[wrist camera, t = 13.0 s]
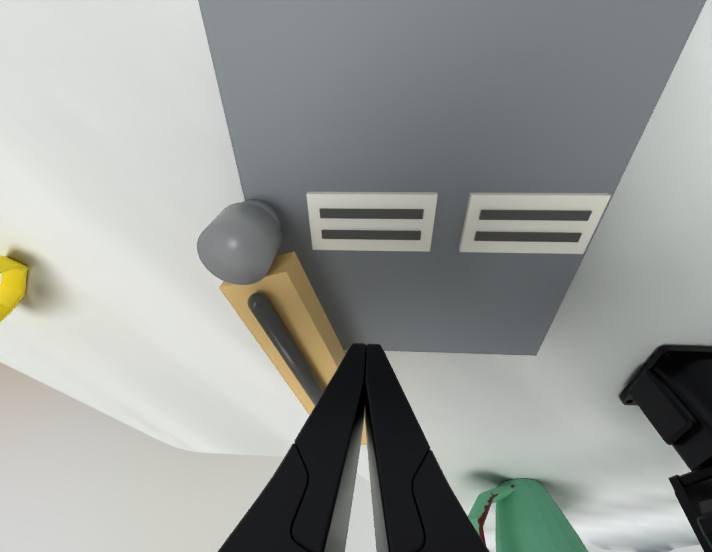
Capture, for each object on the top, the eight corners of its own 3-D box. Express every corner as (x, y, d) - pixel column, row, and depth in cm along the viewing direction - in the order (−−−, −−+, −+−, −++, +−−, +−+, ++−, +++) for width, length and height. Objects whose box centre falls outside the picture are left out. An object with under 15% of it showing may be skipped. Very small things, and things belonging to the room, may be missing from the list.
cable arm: (378, 417, 25) (378, 457, 22) (335, 422, 26) (330, 461, 23) (267, 193, 14) (245, 222, 12) (201, 213, 15) (168, 244, 13)
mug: (585, 485, 35) (647, 615, 27) (517, 510, 40) (552, 626, 32) (486, 445, 31) (524, 583, 23) (425, 479, 37) (438, 601, 29)
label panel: (703, -52, 11) (770, -72, 9) (529, 342, 23) (542, 368, 21) (186, -33, 12) (151, -48, 10) (274, 334, 24) (265, 358, 22)
